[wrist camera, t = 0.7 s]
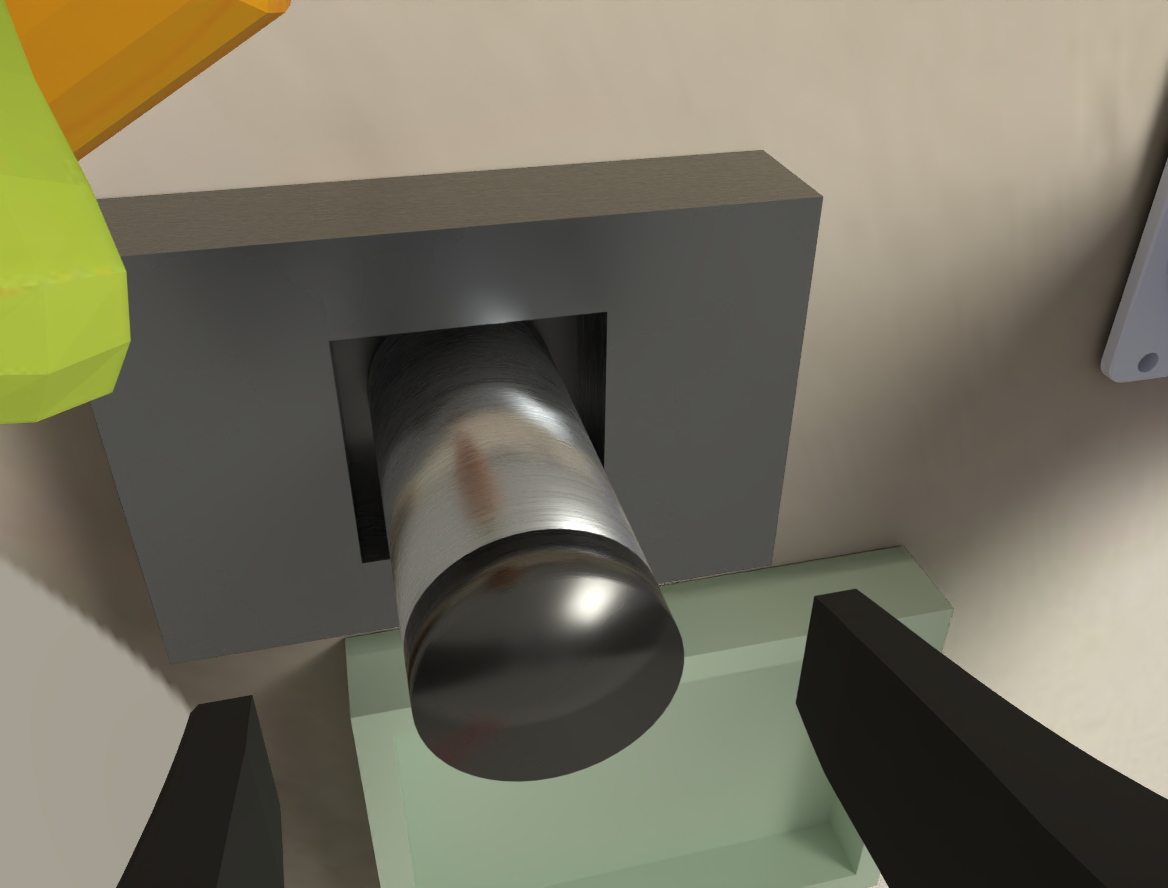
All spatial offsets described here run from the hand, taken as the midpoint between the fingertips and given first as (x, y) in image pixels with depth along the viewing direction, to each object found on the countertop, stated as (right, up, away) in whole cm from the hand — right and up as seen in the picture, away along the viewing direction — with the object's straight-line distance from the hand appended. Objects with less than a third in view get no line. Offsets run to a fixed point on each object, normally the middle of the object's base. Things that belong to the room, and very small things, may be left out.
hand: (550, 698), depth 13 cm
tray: (+2, -5, +14) cm, 15 cm away
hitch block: (-2, +5, +7) cm, 9 cm away
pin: (-2, +4, +7) cm, 8 cm away
